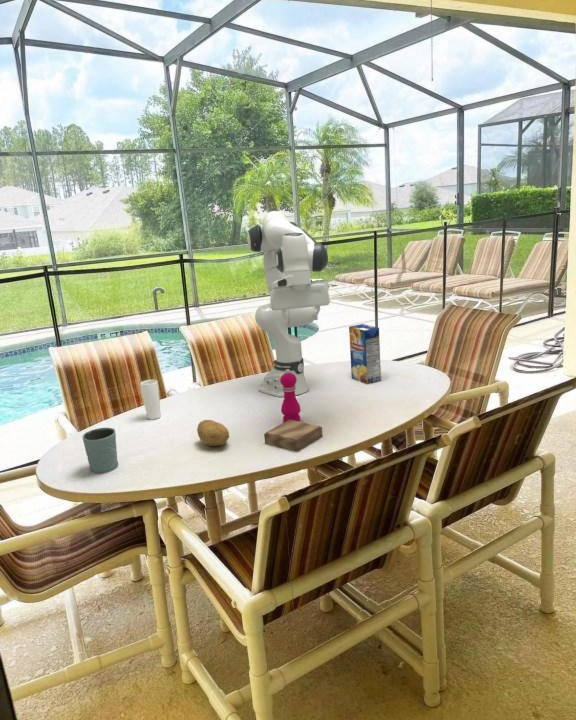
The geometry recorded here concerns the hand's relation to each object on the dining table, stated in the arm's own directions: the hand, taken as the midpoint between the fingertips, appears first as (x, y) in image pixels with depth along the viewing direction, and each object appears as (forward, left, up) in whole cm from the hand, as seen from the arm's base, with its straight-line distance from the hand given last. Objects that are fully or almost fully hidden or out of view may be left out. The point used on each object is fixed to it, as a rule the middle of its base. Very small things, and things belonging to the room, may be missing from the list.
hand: (301, 321), depth 190 cm
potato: (-20, -28, -39) cm, 52 cm away
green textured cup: (-39, -59, -39) cm, 81 cm away
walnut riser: (+2, -12, -39) cm, 41 cm away
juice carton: (-11, +57, -39) cm, 70 cm away
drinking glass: (-62, -21, -39) cm, 76 cm away
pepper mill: (-10, +2, -39) cm, 40 cm away
